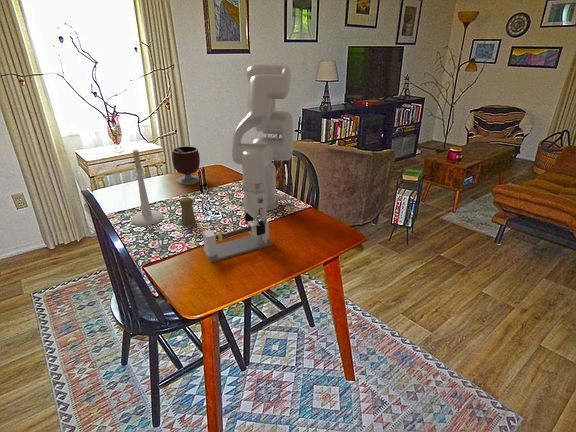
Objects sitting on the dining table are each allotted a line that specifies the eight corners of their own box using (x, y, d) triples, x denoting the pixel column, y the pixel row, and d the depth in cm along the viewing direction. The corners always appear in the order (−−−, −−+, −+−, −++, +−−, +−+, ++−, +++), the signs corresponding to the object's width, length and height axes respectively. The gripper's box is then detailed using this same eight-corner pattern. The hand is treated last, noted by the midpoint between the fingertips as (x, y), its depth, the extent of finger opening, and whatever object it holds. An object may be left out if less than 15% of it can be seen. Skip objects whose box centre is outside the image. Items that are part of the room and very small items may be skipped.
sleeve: (257, 228, 134) (257, 219, 132) (262, 233, 131) (262, 223, 129) (247, 231, 132) (247, 221, 130) (252, 235, 129) (252, 226, 127)
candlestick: (129, 215, 151) (115, 147, 138) (160, 210, 157) (149, 143, 144) (133, 228, 141) (119, 155, 128) (166, 221, 147) (155, 151, 134)
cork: (192, 226, 143) (189, 202, 139) (178, 225, 144) (175, 200, 140) (198, 220, 149) (196, 196, 144) (185, 218, 150) (182, 195, 145)
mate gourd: (183, 174, 198) (179, 139, 189) (206, 177, 195) (203, 141, 186) (168, 184, 185) (163, 147, 176) (192, 187, 182) (188, 149, 173)
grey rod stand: (261, 234, 139) (261, 214, 135) (272, 244, 132) (272, 223, 128) (202, 250, 128) (200, 228, 124) (211, 262, 121) (209, 240, 117)
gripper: (275, 191, 118) (275, 236, 125) (252, 176, 131) (253, 217, 139) (255, 195, 114) (256, 241, 122) (234, 179, 128) (236, 221, 135)
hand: (254, 228), depth 130 cm, fingers open, 9 cm apart
